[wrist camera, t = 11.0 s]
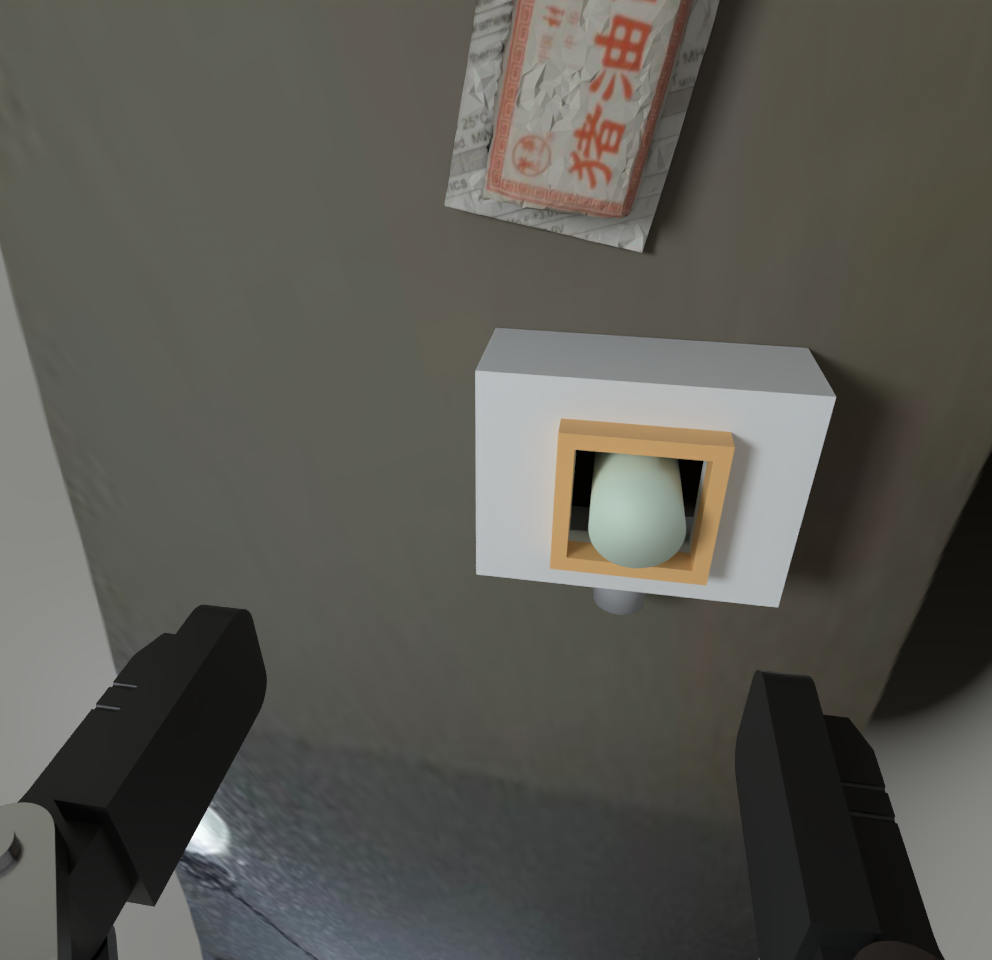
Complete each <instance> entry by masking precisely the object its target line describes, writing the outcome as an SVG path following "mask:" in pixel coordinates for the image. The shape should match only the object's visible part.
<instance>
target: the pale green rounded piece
mask: <svg viewBox="0 0 992 960" xmlns="http://www.w3.org/2000/svg"><path fill="white" fill-rule="evenodd" d="M588 531H589V537H590V540H591V542H592V544H593V546H594V547H595V549H596V550H597V551H598V552H599V554H601V555H602V556H603V557H604V558H606V559H607V560H608V561H610V562H612V563H614V564H617V565H620V566H623V567H628V568H648V567H652V566H656V565H659V564H661V563H663V562H665V561H667V560H668V559H670V558H671V557H672V556H674V555H675V554H676V553H677V551H678V550H679V549H680V547H681V546H682V544H683V542H684V539H685V536H686V521H685V512H684V504H683V495H682V486H681V478H680V469H679V460H678V458H666V457H654V456H643V455H631V454H619V453H608V452H596V451H595V457H594V468H593V479H592V491H591V502H590V514H589V525H588Z"/></svg>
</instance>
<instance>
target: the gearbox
mask: <svg viewBox="0 0 992 960" xmlns="http://www.w3.org/2000/svg"><path fill="white" fill-rule="evenodd" d="M475 393H476V574H478V575H487V576H496V577H505V578H515V579H524V580H533V581H542V582H551V583H560V584H569V585H578V586H587V587H594V590H593V599H594V601H595V603H596V604H597V605H598V606H599V607H600V608H602V609H603V610H605V611H607V612H610V613H613V614H620V615H626V614H631V613H634V612H637V611H638V610H640V609H641V608H642V606H643V604H644V599H645V593H651V594H660V595H669V596H678V597H687V598H696V599H705V600H714V601H724V602H733V603H742V604H751V605H760V606H769V607H778V606H779V602H780V599H781V595H782V591H783V588H784V584H785V581H786V577H787V573H788V570H789V566H790V562H791V559H792V555H793V552H794V548H795V544H796V541H797V537H798V534H799V530H800V526H801V523H802V519H803V516H804V512H805V508H806V505H807V501H808V498H809V494H810V490H811V487H812V483H813V479H814V476H815V472H816V469H817V465H818V461H819V458H820V454H821V451H822V447H823V443H824V440H825V436H826V433H827V429H828V425H829V422H830V418H831V415H832V411H833V407H834V404H835V400H836V395H835V394H834V392H833V390H832V388H831V387H830V385H829V383H828V382H827V380H826V378H825V376H824V375H823V373H822V371H821V369H820V368H819V366H818V364H817V363H816V361H815V359H814V357H813V356H812V354H811V352H810V350H809V349H808V348H800V347H784V346H769V345H753V344H738V343H723V342H707V341H692V340H676V339H661V338H645V337H630V336H615V335H599V334H584V333H568V332H553V331H537V330H522V329H507V328H496V329H495V331H494V333H493V335H492V337H491V339H490V341H489V343H488V345H487V347H486V350H485V352H484V354H483V356H482V358H481V360H480V362H479V364H478V366H477V368H476V370H475ZM576 450H584V451H596V452H608V453H619V454H631V455H643V456H654V457H666V458H678V459H689V460H701V461H704V462H703V468H702V473H701V479H700V484H699V490H698V495H697V501H696V506H695V511H694V517H686V516H685V521H686V536H685V539H684V542H683V544H682V546H681V547H680V549H679V550H678V551H677V553H676V554H675V555H674V556H672V557H671V558H670V559H668V560H667V561H665V562H663V563H661V564H659V565H656V566H652V567H648V568H628V567H623V566H620V565H617V564H614V563H612V562H610V561H608V560H607V559H606V558H604V557H603V556H602V555H601V554H599V552H598V551H597V550H596V549H595V547H594V546H593V544H592V542H591V540H590V537H589V531H588V525H589V514H590V507H581V506H572V497H573V484H574V472H575V459H576Z"/></svg>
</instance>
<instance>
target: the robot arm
mask: <svg viewBox="0 0 992 960" xmlns="http://www.w3.org/2000/svg"><path fill="white" fill-rule="evenodd" d="M266 685H267V676H266V670H265V666H264V662H263V658H262V654H261V650H260V646H259V642H258V638H257V634H256V630H255V626H254V622H253V618H252V616H251V614H250V612H249V611H248V610H246V609H237V608H228V607H219V606H211V605H200V606H198V607H197V608H195V609H194V610H193V612H192V613H191V614H190V615H189V617H188V618H187V619H186V621H185V622H184V624H183V625H182V626H181V628H180V629H179V630H178V632H177V633H176V634H169V633H163V634H162V635H161V636H159V637H158V638H157V639H155V640H154V641H153V642H151V643H150V644H148V645H147V646H146V647H144V648H143V649H142V650H140V651H139V652H137V653H136V654H135V655H134V656H133V657H132V658H131V660H130V661H129V662H128V664H127V665H126V666H125V667H124V669H123V670H122V671H121V672H120V674H119V675H118V676H117V678H116V679H115V680H114V684H113V686H112V687H109V688H108V689H107V690H106V692H105V693H104V695H103V696H102V697H101V698H100V699H99V701H98V702H97V703H96V708H95V709H92V710H91V711H90V712H89V713H88V715H87V716H86V718H85V719H84V720H83V721H82V723H81V724H80V725H79V726H78V728H77V729H76V730H75V731H74V733H73V734H72V735H71V737H70V738H69V739H68V740H67V742H66V743H65V744H64V746H63V747H62V748H61V749H60V751H59V752H58V753H57V754H56V756H55V757H54V758H53V760H52V761H51V762H50V763H49V765H48V766H47V767H46V768H45V770H44V771H43V772H42V774H41V775H40V776H39V778H38V779H37V780H36V781H35V783H34V784H33V785H32V787H31V788H30V789H29V790H28V791H27V793H26V794H25V795H24V796H23V797H22V798H21V799H20V800H19V801H18V802H17V803H12V804H7V805H3V806H0V960H118V954H117V942H116V933H115V928H114V926H113V924H114V922H115V920H116V919H117V917H118V915H119V913H120V911H121V910H122V908H123V906H124V905H125V903H126V902H132V903H137V904H143V905H149V906H155V905H156V903H157V901H158V899H159V897H160V895H161V894H162V892H163V890H164V888H165V886H166V884H167V882H168V881H169V879H170V876H171V875H172V873H173V871H174V870H175V868H176V866H177V864H178V862H179V860H180V858H181V857H182V855H183V853H184V851H185V849H186V847H187V845H188V844H189V842H190V840H191V838H192V836H193V834H194V832H195V831H196V829H197V827H198V825H199V823H200V821H201V819H202V818H203V816H204V814H205V812H206V810H207V808H208V806H209V805H210V803H211V801H212V799H213V797H214V795H215V793H216V792H217V790H218V788H219V786H220V784H221V782H222V780H223V779H224V777H225V775H226V773H227V771H228V769H229V767H230V766H231V764H232V762H233V760H234V758H235V756H236V754H237V753H238V751H239V749H240V747H241V745H242V743H243V741H244V739H245V738H246V736H247V734H248V732H249V730H250V728H251V726H252V725H253V723H254V721H255V719H256V717H257V715H258V713H259V711H260V709H261V707H262V704H263V701H264V697H265V692H266ZM735 772H736V782H737V790H738V797H739V805H740V813H741V820H742V828H743V835H744V843H745V850H746V858H747V866H748V873H749V881H750V888H751V896H752V903H753V911H754V919H755V926H756V934H757V941H758V949H759V957H760V960H945V959H944V958H943V956H942V954H941V952H940V950H939V948H938V945H937V943H936V940H935V938H934V935H933V932H932V929H931V926H930V922H929V920H928V916H927V913H926V910H925V907H924V904H923V901H922V898H921V895H920V892H919V889H918V886H917V883H916V879H915V876H914V873H913V870H912V867H911V864H910V861H909V858H908V855H907V851H906V848H905V845H904V842H903V839H902V836H901V833H900V830H899V827H898V824H897V823H895V821H894V817H895V814H894V811H893V808H892V805H891V802H890V799H889V796H888V793H885V784H884V780H883V777H882V774H881V772H880V768H879V765H878V762H877V759H876V756H875V753H874V750H873V749H872V747H871V746H870V745H869V744H868V743H867V741H866V740H865V738H864V737H863V736H862V735H861V733H860V732H859V731H858V729H857V728H856V727H855V726H854V724H853V723H852V722H851V720H850V719H849V718H847V717H838V716H830V715H823V713H822V709H821V705H820V702H819V698H818V694H817V691H816V687H815V684H814V681H813V679H812V678H811V677H810V676H806V675H798V674H789V673H780V672H771V671H763V670H757V671H756V672H755V674H754V676H753V679H752V683H751V687H750V690H749V694H748V698H747V701H746V705H745V709H744V713H743V716H742V720H741V724H740V727H739V731H738V735H737V741H736V750H735Z"/></svg>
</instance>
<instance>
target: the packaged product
mask: <svg viewBox="0 0 992 960" xmlns="http://www.w3.org/2000/svg"><path fill="white" fill-rule="evenodd" d="M718 4H719V0H477V3H476V9H475V17H474V24H473V30H472V37H471V44H470V49H469V55H468V62H467V70H466V76H465V82H464V87H463V93H462V99H461V105H460V112H459V118H458V125H457V132H456V137H455V142H454V149H453V157H452V162H451V170H450V178H449V183H448V188H447V194H446V199H445V206H447V207H451V208H456V209H460V210H463V211H467V212H471V213H475V214H480V215H485V216H489V217H493V218H496V219H500V220H504V221H509V222H513V223H517V224H521V225H526V226H530V227H534V228H538V229H542V230H547V231H551V232H556V233H560V234H565V235H569V236H574V237H577V238H581V239H585V240H589V241H593V242H598V243H602V244H607V245H611V246H615V247H620V248H625V249H629V250H633V251H637V252H641V253H642V252H643V248H644V245H645V242H646V239H647V236H648V233H649V230H650V226H651V223H652V220H653V217H654V215H655V211H656V208H657V205H658V202H659V199H660V196H661V193H662V189H663V186H664V183H665V180H666V177H667V174H668V170H669V167H670V164H671V161H672V158H673V154H674V151H675V148H676V144H677V141H678V138H679V135H680V131H681V128H682V125H683V121H684V118H685V115H686V111H687V108H688V105H689V101H690V98H691V95H692V91H693V88H694V85H695V81H696V78H697V75H698V71H699V68H700V64H701V61H702V58H703V56H704V53H705V50H706V47H707V44H708V40H709V37H710V34H711V30H712V27H713V24H714V20H715V16H716V12H717V8H718Z"/></svg>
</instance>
